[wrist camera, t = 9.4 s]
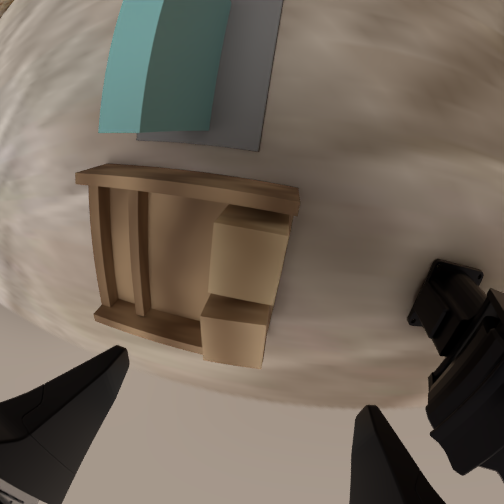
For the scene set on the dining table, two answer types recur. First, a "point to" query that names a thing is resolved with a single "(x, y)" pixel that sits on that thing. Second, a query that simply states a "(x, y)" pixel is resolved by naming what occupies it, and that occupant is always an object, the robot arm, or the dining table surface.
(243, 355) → the offcut
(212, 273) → the offcut
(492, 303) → the robot arm
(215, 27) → the teal flat slab
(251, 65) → the mat
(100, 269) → the tray
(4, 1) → the stone
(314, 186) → the dining table surface
